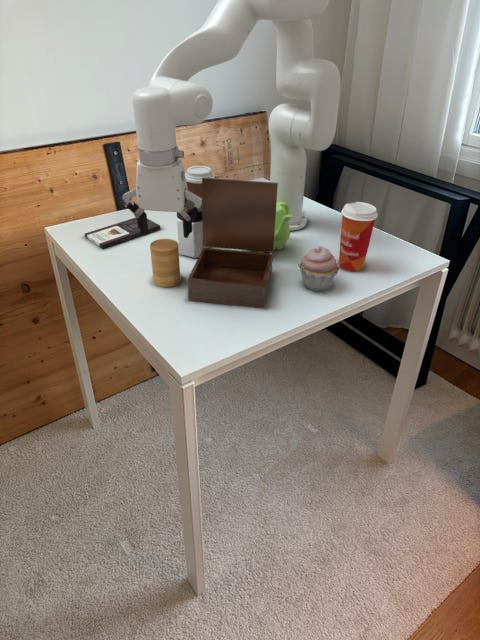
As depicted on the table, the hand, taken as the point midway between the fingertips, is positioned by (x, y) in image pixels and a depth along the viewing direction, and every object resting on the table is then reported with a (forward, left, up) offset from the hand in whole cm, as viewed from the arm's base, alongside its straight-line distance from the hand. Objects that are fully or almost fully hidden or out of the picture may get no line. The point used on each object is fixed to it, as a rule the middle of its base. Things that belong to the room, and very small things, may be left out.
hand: (165, 233), depth 111 cm
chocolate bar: (-18, -22, -12) cm, 31 cm away
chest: (-2, +15, -12) cm, 19 cm away
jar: (-15, 0, -12) cm, 19 cm away
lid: (-10, +13, +2) cm, 17 cm away
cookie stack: (+1, 0, -12) cm, 12 cm away
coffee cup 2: (-21, +39, -12) cm, 46 cm away
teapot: (-23, +16, -12) cm, 31 cm away
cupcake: (-9, +33, -12) cm, 36 cm away
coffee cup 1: (-40, -9, -12) cm, 43 cm away
